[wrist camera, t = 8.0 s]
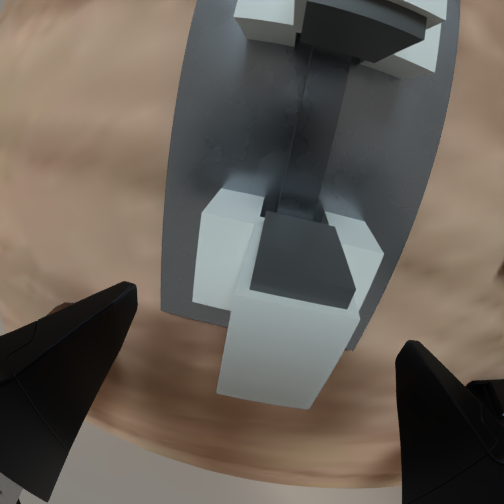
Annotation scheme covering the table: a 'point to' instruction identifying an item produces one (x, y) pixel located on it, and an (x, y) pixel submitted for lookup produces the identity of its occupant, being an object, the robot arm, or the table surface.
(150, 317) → the table surface
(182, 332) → the table surface
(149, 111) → the table surface
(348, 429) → the table surface
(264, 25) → the block
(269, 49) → the rail
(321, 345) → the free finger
